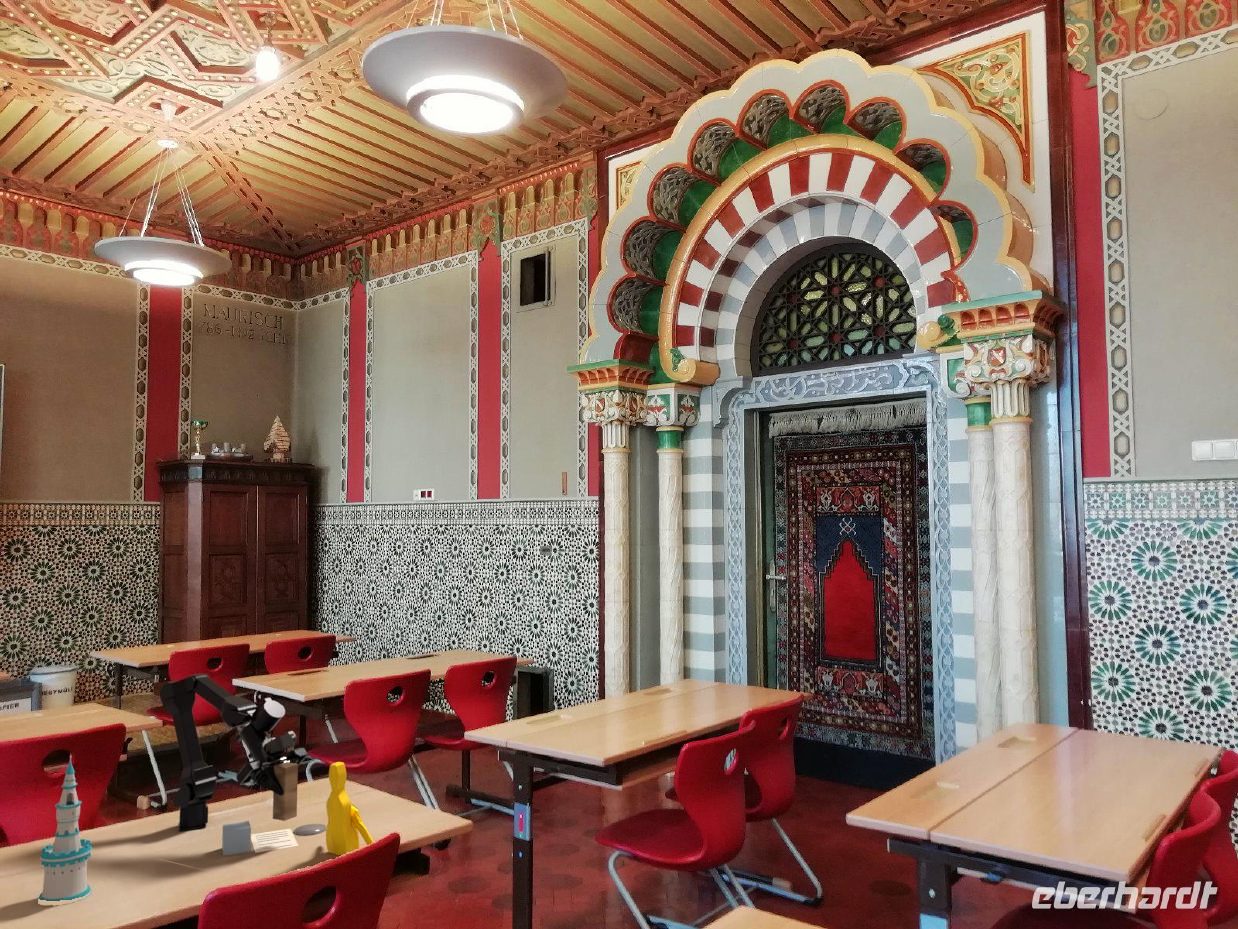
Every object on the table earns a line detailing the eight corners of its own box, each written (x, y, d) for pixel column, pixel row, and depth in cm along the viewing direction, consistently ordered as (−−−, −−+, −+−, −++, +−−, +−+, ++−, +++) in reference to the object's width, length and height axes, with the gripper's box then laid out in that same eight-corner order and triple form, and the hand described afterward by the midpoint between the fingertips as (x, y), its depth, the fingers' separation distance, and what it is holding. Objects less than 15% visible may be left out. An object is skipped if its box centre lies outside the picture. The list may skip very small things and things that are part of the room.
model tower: (86, 884, 198) (92, 747, 200) (95, 897, 190) (101, 754, 193) (33, 896, 191) (39, 754, 194) (41, 910, 183) (47, 762, 186)
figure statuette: (380, 856, 214) (381, 762, 215) (353, 866, 207) (355, 769, 209) (333, 842, 224) (334, 753, 225) (306, 851, 217) (308, 759, 219)
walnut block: (272, 818, 222) (274, 765, 223) (285, 814, 225) (286, 762, 227) (284, 821, 220) (285, 767, 221) (296, 816, 224) (297, 763, 225)
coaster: (296, 838, 227) (296, 835, 227) (292, 829, 234) (292, 826, 234) (328, 833, 231) (328, 830, 231) (323, 824, 238) (323, 822, 238)
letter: (255, 853, 216) (255, 852, 216) (249, 835, 229) (249, 834, 229) (298, 846, 221) (298, 845, 221) (290, 829, 234) (290, 828, 234)
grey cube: (223, 857, 214) (224, 831, 215) (222, 849, 219) (222, 824, 220) (250, 852, 217) (250, 827, 217) (248, 845, 222) (248, 821, 223)
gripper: (246, 730, 218) (277, 781, 212) (303, 716, 235) (333, 763, 229) (222, 759, 221) (252, 810, 215) (281, 743, 238) (310, 790, 232)
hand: (289, 792), depth 223 cm, fingers closed on walnut block, 4 cm apart
